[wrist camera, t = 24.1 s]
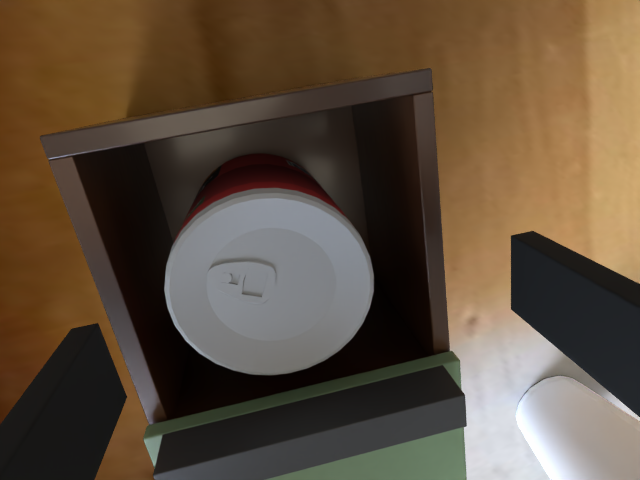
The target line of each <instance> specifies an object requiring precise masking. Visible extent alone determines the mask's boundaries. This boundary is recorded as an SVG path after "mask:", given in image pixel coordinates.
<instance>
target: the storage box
mask: <svg viewBox="0 0 640 480" xmlns="http://www.w3.org/2000/svg"><path fill="white" fill-rule="evenodd" d="M432 90H433V84H432V70H431V68H427V69H419V70H412V71H404V72H397V73H389V74H381V75H374V76H366V77H359V78H353V79H347V80H341V81H335V82H330V83H324V84H318V85H312V86H307V87H301V88H295V89H289V90H283V91H278V92H272V93H266V94H260V95H255V96H249V97H243V98H237V99H231V100H226V101H220V102H214V103H208V104H203V105H197V106H191V107H185V108H180V109H174V110H168V111H162V112H156V113H151V114H145V115H139V116H133V117H128V118H122V119H118V120H113V121H108V122H104V123H99V124H94V125H89V126H85V127H80V128H75V129H70V130H66V131H61V132H56V133H52V134H47V135H42V136H40V140H41V142H42V145H43V147H44V150H45V153H46V155H47V158H48V159H49V164H50V166H51V169H52V172H53V174H54V177H55V180H56V182H57V185H58V187H59V190H60V193H61V195H62V198H63V200H64V203H65V206H66V208H67V211H68V214H69V216H70V219H71V221H72V224H73V227H74V229H75V232H76V234H77V237H78V240H79V242H80V245H81V248H82V250H83V253H84V255H85V258H86V261H87V263H88V266H89V268H90V271H91V274H92V276H93V279H94V282H95V284H96V287H97V289H98V292H99V295H100V297H101V300H102V302H103V305H104V308H105V310H106V313H107V316H108V318H109V321H110V323H111V326H112V329H113V331H114V334H115V336H116V339H117V342H118V344H119V347H120V350H121V352H122V355H123V357H124V360H125V363H126V365H127V368H128V370H129V373H130V376H131V378H132V381H133V384H134V386H135V389H136V391H137V394H138V397H139V399H140V402H141V404H142V407H143V410H144V412H145V415H146V418H147V420H148V423H149V425H151V424H156V423H160V422H164V421H168V420H172V419H176V418H180V417H184V416H188V415H192V414H196V413H200V412H204V411H209V410H213V409H217V408H221V407H225V406H229V405H233V404H237V403H241V402H245V401H249V400H253V399H257V398H262V397H266V396H270V395H274V394H278V393H282V392H286V391H290V390H294V389H298V388H302V387H306V386H310V385H315V384H319V383H323V382H327V381H331V380H335V379H339V378H343V377H347V376H351V375H355V374H359V373H363V372H368V371H372V370H376V369H380V368H384V367H388V366H392V365H396V364H400V363H404V362H408V361H412V360H416V359H421V358H425V357H429V356H433V355H437V354H441V353H445V352H449V351H450V346H449V331H448V316H447V300H446V285H445V270H444V254H443V239H442V224H441V209H440V193H439V178H438V163H437V148H436V132H435V117H434V102H433V92H431V91H432ZM249 154H270V155H277V156H280V157H283V158H286V159H289V160H291V161H293V162H295V163H296V164H298V165H300V166H302V167H303V168H304V169H305V170H306V171H308V172H309V173H310V174H311V175H312V176H313V177H314V178H315V180H316V181H317V182H318V183H319V184H320V185H321V187H322V188H323V189H324V190H325V191H326V193H327V194H328V195H329V196H330V197H331V198H332V200H333V201H334V202H335V203H336V204H337V206H338V207H339V208H340V209H341V210H342V211H343V213H344V214H345V215H346V217H347V218H348V219H349V221H350V222H351V223H352V225H353V226H354V228H355V229H356V230H357V232H358V233H359V234H360V236H361V238H362V240H363V242H364V244H365V247H366V249H367V251H368V254H369V256H370V259H371V264H372V269H373V273H374V291H373V296H372V300H371V305H370V309H369V311H368V313H367V315H366V317H365V320H364V322H363V324H362V325H361V327H360V328H359V330H358V331H357V332H356V334H355V335H354V337H353V338H352V339H351V340H350V341H349V342H348V343H347V344H346V345H345V346H344V347H343V348H342V349H341V350H339V351H338V352H336V353H335V354H334V355H332V356H331V357H329V358H328V359H326V360H325V361H322V362H320V363H318V364H316V365H314V366H312V367H309V368H307V369H303V370H299V371H296V372H292V373H287V374H278V375H255V374H248V373H243V372H238V371H234V370H231V369H228V368H226V367H223V366H221V365H218V364H216V363H214V362H212V361H211V360H209V359H208V358H206V357H204V356H203V355H201V354H200V353H198V352H197V351H196V350H195V349H194V348H193V347H192V346H191V345H190V344H189V343H188V342H186V341H185V339H184V338H183V336H182V335H181V334H180V332H179V331H178V329H177V328H176V327H175V325H174V323H173V320H172V318H171V315H170V313H169V311H168V308H167V303H166V297H165V291H164V288H165V273H166V265H167V261H168V258H169V255H170V252H171V248H172V246H173V244H174V242H175V238H176V236H177V234H178V232H179V230H180V228H181V226H182V224H183V222H184V220H185V218H186V216H187V214H188V212H189V210H190V208H191V206H192V204H193V202H194V200H195V198H196V196H197V194H198V192H199V190H200V188H201V186H202V185H203V183H204V181H205V180H206V179H207V177H208V176H209V175H210V174H211V173H212V172H213V171H214V170H215V169H217V168H218V167H219V166H221V165H222V164H224V163H225V162H227V161H230V160H232V159H234V158H236V157H240V156H244V155H249Z"/></svg>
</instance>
